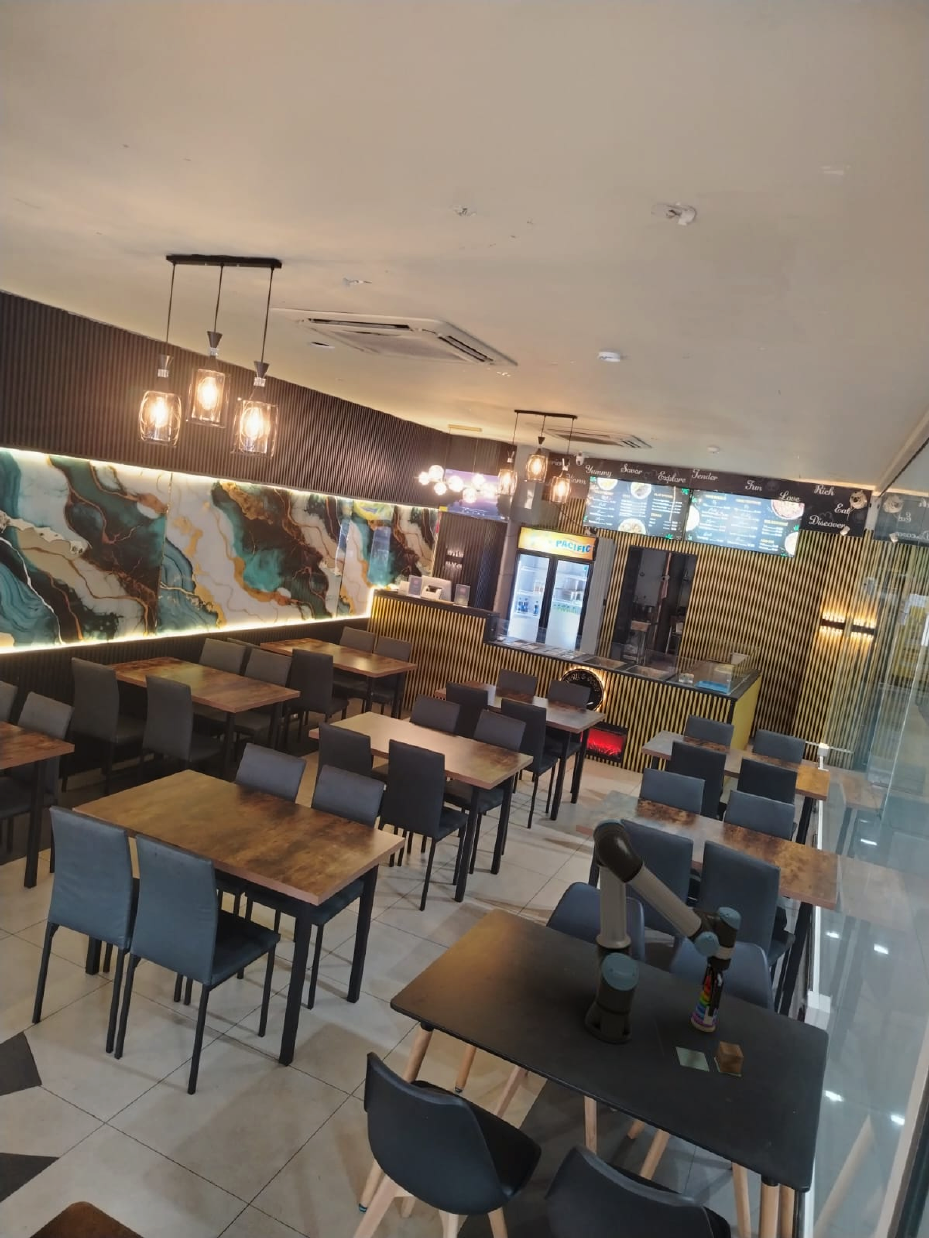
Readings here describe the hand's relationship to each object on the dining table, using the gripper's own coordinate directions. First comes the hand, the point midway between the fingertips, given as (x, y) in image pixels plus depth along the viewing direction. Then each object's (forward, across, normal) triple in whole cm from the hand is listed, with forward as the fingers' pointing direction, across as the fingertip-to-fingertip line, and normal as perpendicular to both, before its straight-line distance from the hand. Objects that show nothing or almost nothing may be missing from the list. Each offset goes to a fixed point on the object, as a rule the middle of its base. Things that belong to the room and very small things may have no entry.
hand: (704, 1016), depth 272 cm
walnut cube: (+3, -21, -3) cm, 21 cm away
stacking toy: (+4, 0, 0) cm, 4 cm away
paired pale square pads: (+4, -21, +4) cm, 22 cm away
